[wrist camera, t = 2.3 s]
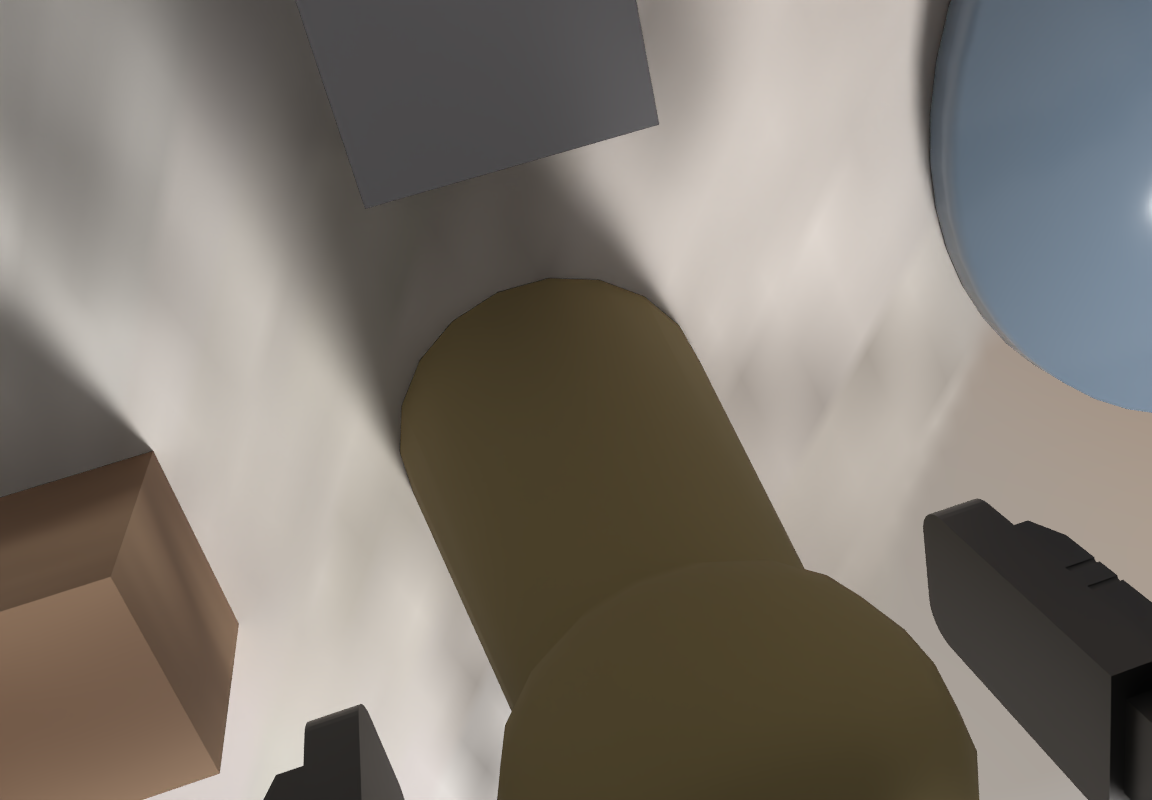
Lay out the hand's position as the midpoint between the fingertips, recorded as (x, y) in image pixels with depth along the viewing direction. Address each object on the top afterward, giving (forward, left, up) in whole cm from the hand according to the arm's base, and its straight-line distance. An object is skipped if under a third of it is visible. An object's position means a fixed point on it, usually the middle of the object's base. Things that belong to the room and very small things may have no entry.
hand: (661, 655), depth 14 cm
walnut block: (0, -9, -7) cm, 11 cm away
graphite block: (-8, 0, -7) cm, 11 cm away
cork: (0, 0, -7) cm, 7 cm away
